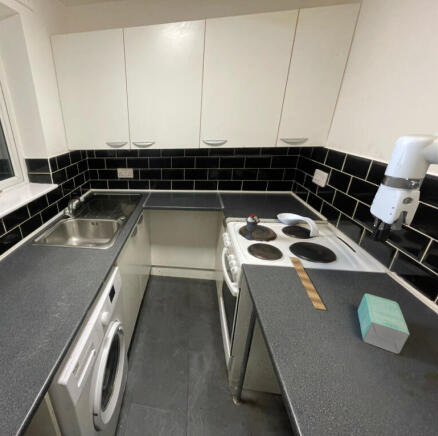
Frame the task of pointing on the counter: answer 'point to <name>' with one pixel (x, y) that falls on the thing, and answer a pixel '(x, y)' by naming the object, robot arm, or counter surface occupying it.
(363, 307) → the box
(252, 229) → the sundae
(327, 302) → the counter surface
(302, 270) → the strip
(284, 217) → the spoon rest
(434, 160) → the robot arm
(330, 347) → the counter surface
